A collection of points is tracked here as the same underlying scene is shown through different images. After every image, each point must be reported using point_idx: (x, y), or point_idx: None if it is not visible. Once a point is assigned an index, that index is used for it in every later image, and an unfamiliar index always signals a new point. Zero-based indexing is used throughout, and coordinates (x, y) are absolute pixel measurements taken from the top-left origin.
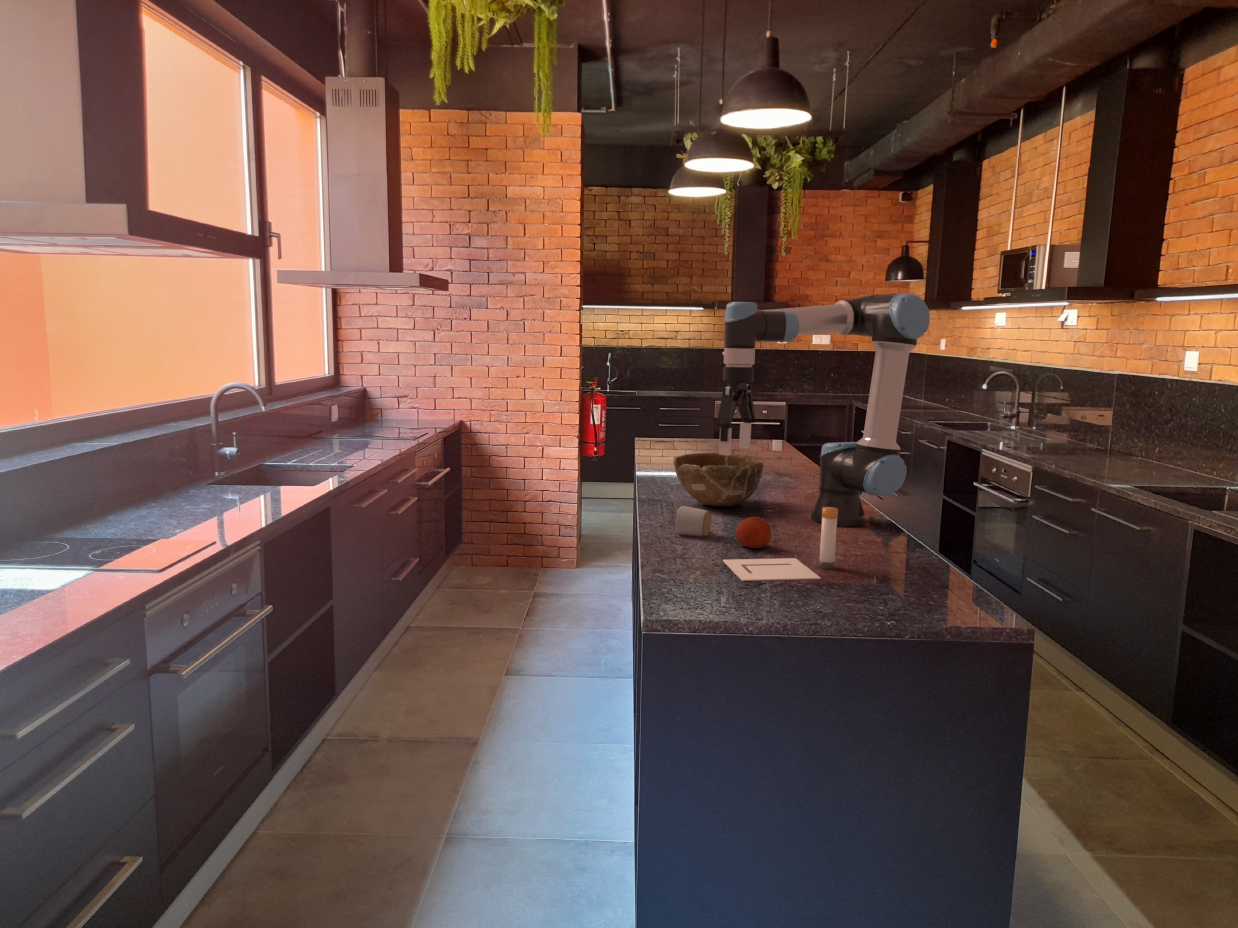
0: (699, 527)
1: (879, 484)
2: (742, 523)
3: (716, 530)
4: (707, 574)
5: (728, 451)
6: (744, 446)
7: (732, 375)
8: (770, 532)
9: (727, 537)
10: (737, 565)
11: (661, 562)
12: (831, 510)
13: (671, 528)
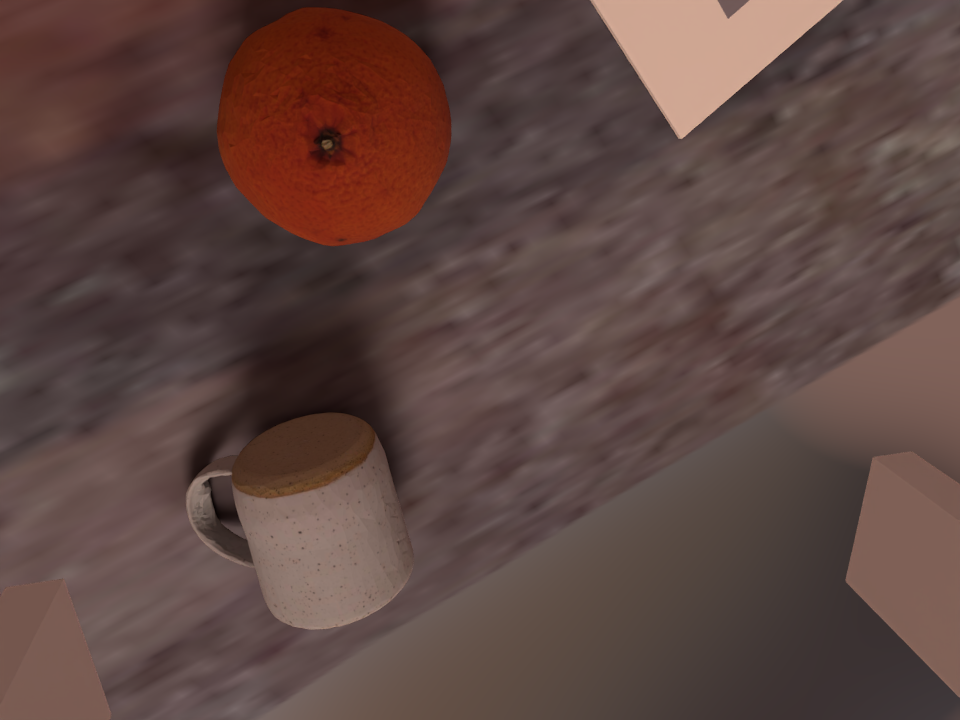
0: (381, 445)
1: None
2: (403, 197)
3: (140, 443)
4: (904, 97)
5: (951, 494)
6: (77, 672)
7: None
8: (312, 9)
9: (237, 330)
10: (745, 28)
11: (810, 340)
12: None
13: None
